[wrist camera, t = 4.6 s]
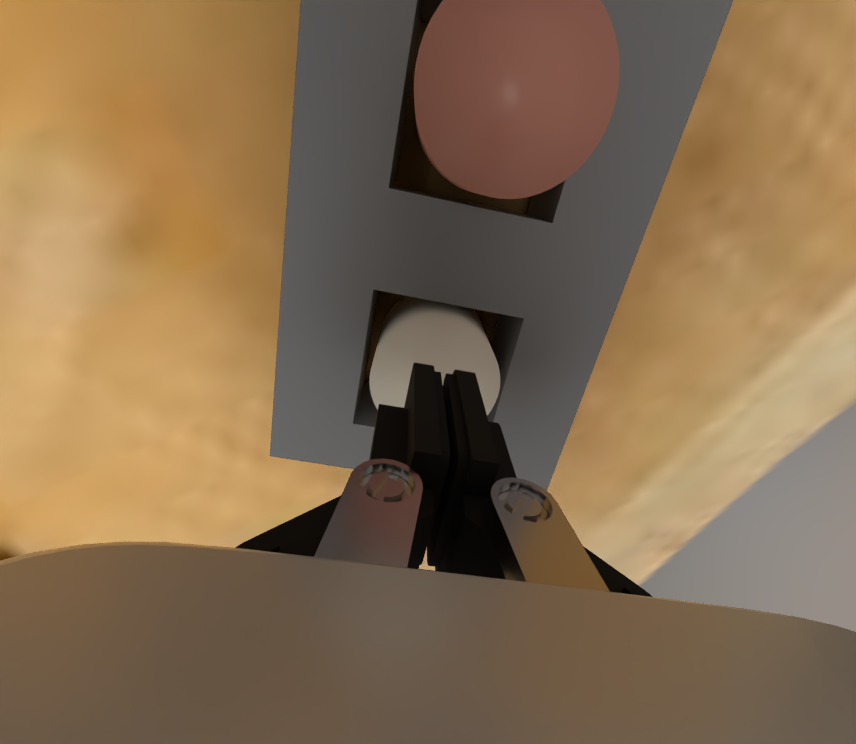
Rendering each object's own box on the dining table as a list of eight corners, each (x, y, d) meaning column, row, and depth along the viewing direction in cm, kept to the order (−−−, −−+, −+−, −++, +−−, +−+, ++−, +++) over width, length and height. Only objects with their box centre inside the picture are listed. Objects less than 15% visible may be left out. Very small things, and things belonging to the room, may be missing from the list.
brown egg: (431, 10, 14) (437, -72, 9) (579, 48, 14) (652, -12, 10) (404, 177, 15) (397, 177, 11) (535, 206, 16) (579, 216, 11)
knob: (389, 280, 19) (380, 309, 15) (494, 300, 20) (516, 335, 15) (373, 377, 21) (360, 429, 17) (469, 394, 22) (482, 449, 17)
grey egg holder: (381, -548, 11) (362, -904, 7) (807, -389, 12) (973, -631, 9) (294, 410, 22) (269, 456, 18) (524, 447, 23) (543, 498, 20)
